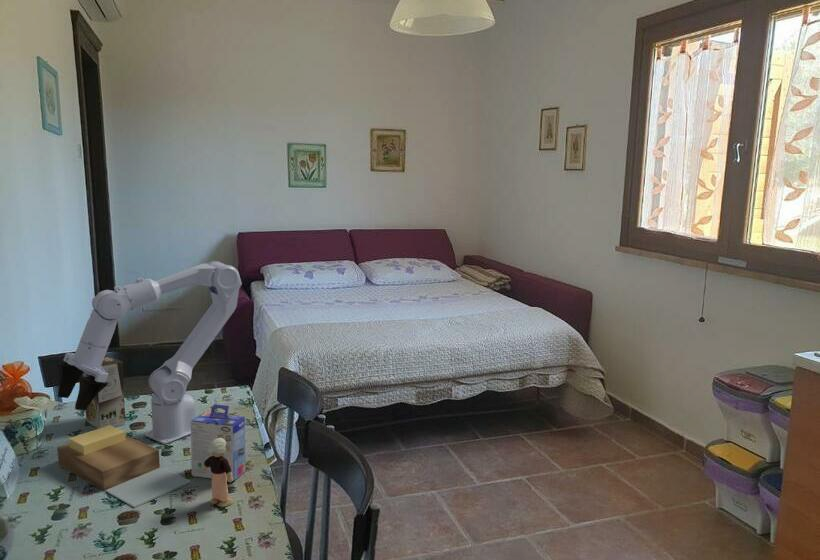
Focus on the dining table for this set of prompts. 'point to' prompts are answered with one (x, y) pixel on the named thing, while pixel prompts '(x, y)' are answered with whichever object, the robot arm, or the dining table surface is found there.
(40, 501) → the dining table surface
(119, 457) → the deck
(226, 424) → the ink cartridge box
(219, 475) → the grandmother figurine
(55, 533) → the dining table surface
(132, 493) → the mat
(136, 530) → the dining table surface
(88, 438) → the pale yellow foam brick
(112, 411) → the coffee box
